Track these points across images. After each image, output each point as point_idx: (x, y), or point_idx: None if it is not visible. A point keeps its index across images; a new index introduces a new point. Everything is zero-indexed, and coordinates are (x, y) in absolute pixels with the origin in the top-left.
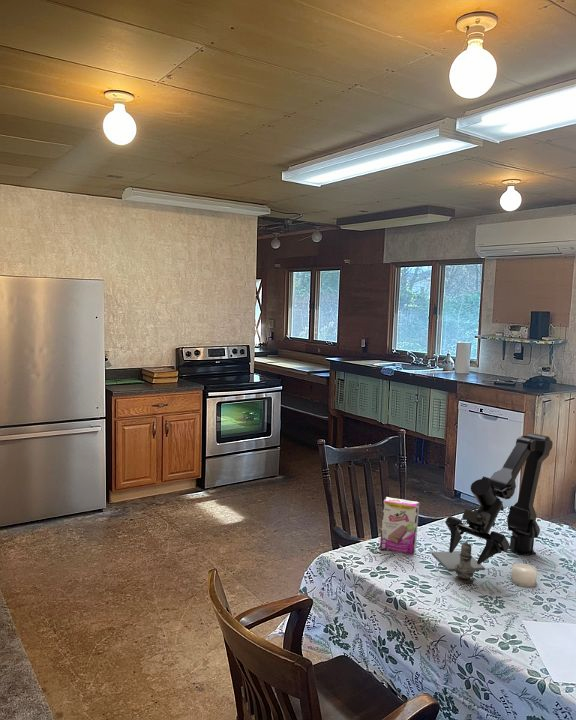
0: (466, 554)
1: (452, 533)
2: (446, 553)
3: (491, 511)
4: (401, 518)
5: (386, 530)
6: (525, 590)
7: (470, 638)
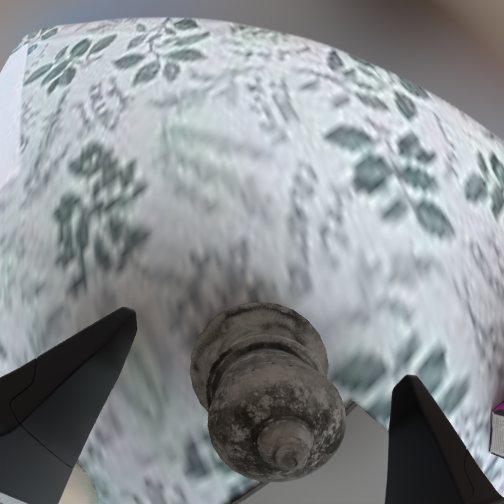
0: (248, 354)
1: (489, 499)
2: None
3: None
4: None
5: None
6: None
7: (147, 23)
